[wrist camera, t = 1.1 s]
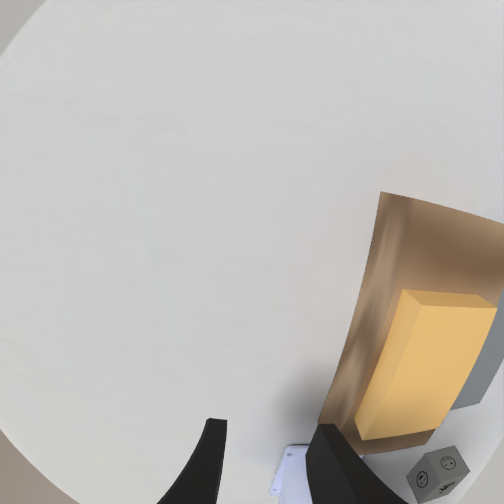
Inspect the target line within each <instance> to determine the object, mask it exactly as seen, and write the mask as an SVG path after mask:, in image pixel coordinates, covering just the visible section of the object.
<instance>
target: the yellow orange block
mask: <svg viewBox="0 0 504 504" xmlns="http://www.w3.org/2000/svg"><path fill="white" fill-rule="evenodd" d="M497 309H498V308H496V307H495V306H494V305H492V304H491V303H489V302H488V301H486V300H485V299H483V298H482V297H480V296H479V295H470V294H456V293H443V292H431V291H419V290H407V289H402V293H401V296H400V300H399V303H398V306H397V309H396V313H395V316H394V319H393V322H392V325H391V328H390V331H389V334H388V337H387V339H386V342H385V345H384V348H383V350H382V353H381V356H380V358H379V361H378V364H377V366H376V369H375V371H374V374H373V376H372V379H371V381H370V383H369V386H368V388H367V390H366V393H365V395H364V397H363V399H362V402H361V404H360V406H359V408H358V410H357V413H356V415H355V417H354V420H355V423H356V425H357V428H358V431H359V433H360V436H361V438H362V440H370V439H378V438H386V437H393V436H399V435H405V434H411V433H416V432H421V431H426V430H431V429H435V428H438V427H439V426H440V424H441V423H442V421H443V419H444V418H445V416H446V415H447V413H448V411H449V410H450V408H451V406H452V405H453V403H454V401H455V400H456V398H457V396H458V394H459V393H460V391H461V389H462V387H463V385H464V383H465V381H466V380H467V378H468V376H469V374H470V372H471V370H472V368H473V366H474V364H475V362H476V360H477V357H478V355H479V353H480V351H481V349H482V346H483V344H484V342H485V340H486V337H487V335H488V332H489V330H490V327H491V325H492V322H493V320H494V317H495V314H496V312H497Z"/></svg>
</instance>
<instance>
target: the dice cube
mask: <svg viewBox="0 0 504 504" xmlns="http://www.w3.org/2000/svg"><path fill="white" fill-rule="evenodd" d="M469 472H470V470H469V468H468V467H467V465H466V463H465V462H464V460H463V459H462V457H461V455H460V454H459V452H458V450H457V449H456V447H455V446H451V447H447V448H444V449H440V450H437V451H433V452H429V453H425V454H424V456H423V457H422V458H421V459H420V461H419V462H418V463H417V464H416V466H415V467H414V468H413V469H412V471H411V472H410V473H409V474H408V475H407V479H408V481H409V484H410V486H411V488H412V491H413V493H414V495H415V498H416V500H417V502H418V504H422V503H425V502H428V501H430V500H433V499H436V498H439V497H442V496H444V495H447V494H449V493H450V492H451V491H452V490H453V489H454V488H455V487H456V486H457V485H458V484H459V483H460V482H461V481H462V480H463V479H464V478H465V476H466V475H467V474H468V473H469Z"/></svg>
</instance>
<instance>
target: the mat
mask: <svg viewBox="0 0 504 504" xmlns="http://www.w3.org/2000/svg"><path fill="white" fill-rule="evenodd" d="M496 308H498V309H497V312H496V314H495V317H494V320H493V322H492V325H491V327H490V330H489V332H488V335H487V337H486V340H485V342H484V344H483V346H482V349H481V351H480V353H479V355H478V357H477V360H476V362H475V364H474V366H473V368H472V370H471V372H470V374H469V376H468V378H467V380H466V381H465V383H464V385H463V387H462V389H461V391H460V393H459V394H458V396H457V398H456V400H455V401H454V403H453V405H452V406H451V408H450V410H453V409H458V408H462V407H466V406H470V405H474V404H478V403H480V401H481V399H482V398H483V396H484V394H485V393H486V391H487V389H488V387H489V386H490V384H491V382H492V380H493V378H494V376H495V374H496V372H497V371H498V369H499V367H500V365H501V363H502V361H503V358H504V286H503V289H502V292H501V295H500V298H499V301H498V304H497V307H496Z"/></svg>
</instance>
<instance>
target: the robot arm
mask: <svg viewBox="0 0 504 504" xmlns="http://www.w3.org/2000/svg"><path fill="white" fill-rule="evenodd" d="M226 435H227V420H222V419H213V418H209V419H207V420H206V424H205V427H204V430H203V433H202V435H201V438H200V440H199V442H198V444H197V446H196V448H195V450H194V452H193V454H192V455H191V457H190V459H189V461H188V463H187V464H186V466H185V467H184V469H183V470H182V472H181V473H180V475H179V476H178V478H177V479H176V481H175V482H174V483H173V485H172V486H171V487H170V489H169V490H168V491H167V492H166V494H165V495H164V496H163V497H162V498H161V500H160V501H159V502H158V503H157V504H216V502H217V496H218V491H219V485H220V480H221V474H222V467H223V459H224V451H225V443H226ZM363 456H364V455H358V454H357V453H356V452H355V450H354V449H353V448H352V447H351V445H350V444H349V443H348V441H347V440H346V439H345V437H344V436H343V435H342V433H341V432H340V430H339V429H338V428H337V426H336V425H335V424H334V423H331V424H318V426H317V429H316V431H315V434H314V436H313V438H312V441H311V443H310V445H299V446H288V447H286V448H285V451H284V454H283V456H282V459H281V462H280V464H279V467H278V470H277V472H276V475H275V477H274V480H273V482H272V485H271V487H270V490H269V494H270V495H278V497H279V504H408V503H407V502H405V501H404V500H403V499H401V498H400V497H399V496H398V495H396V494H395V493H394V492H393V491H392V490H391V489H389V488H388V487H387V486H386V485H385V484H384V483H383V482H382V481H381V480H380V479H379V478H378V477H377V476H376V475H375V474H374V473H373V472H372V471H371V469H370V468H369V467H368V466H367V465H366V464H365V463H364V461H363V460H362V458H363Z"/></svg>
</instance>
